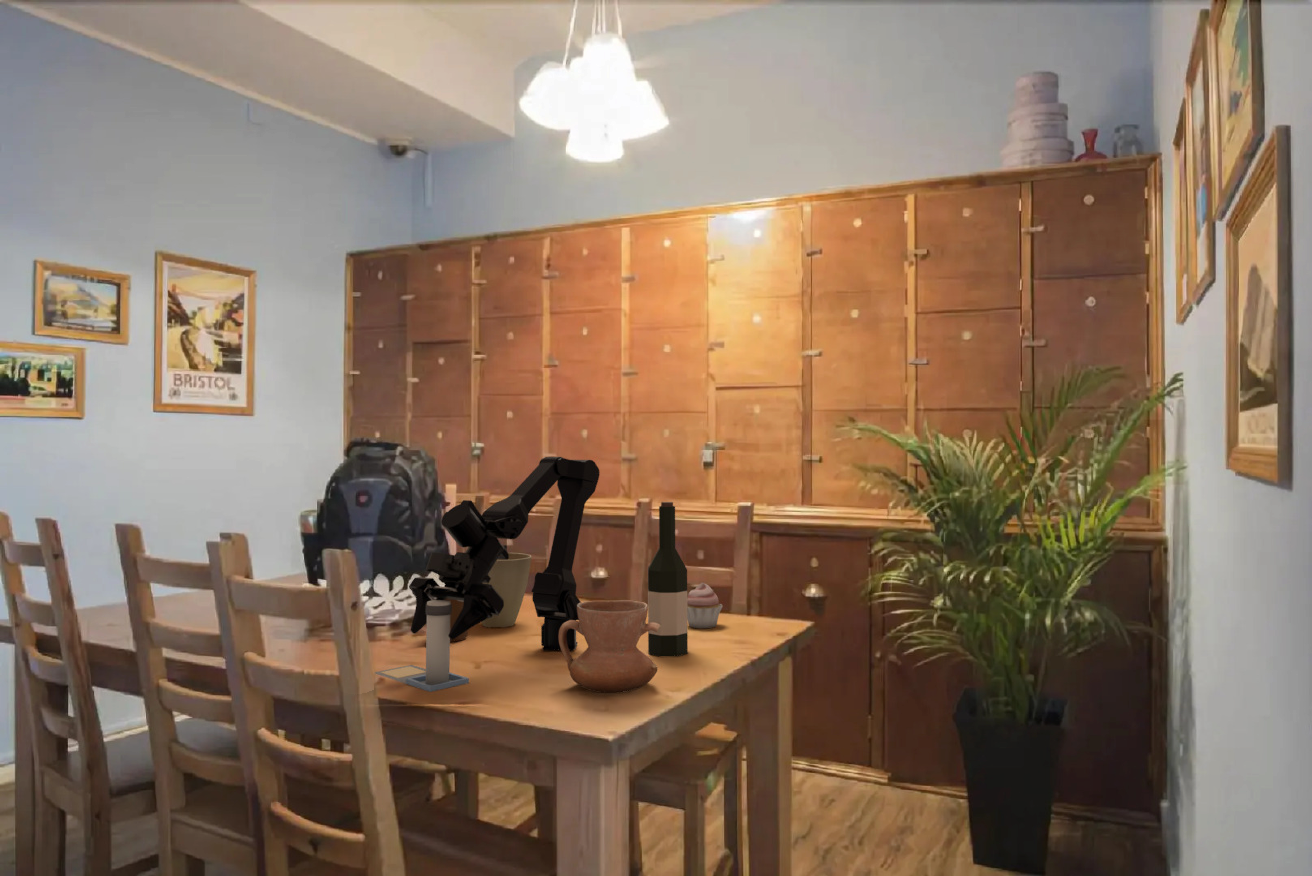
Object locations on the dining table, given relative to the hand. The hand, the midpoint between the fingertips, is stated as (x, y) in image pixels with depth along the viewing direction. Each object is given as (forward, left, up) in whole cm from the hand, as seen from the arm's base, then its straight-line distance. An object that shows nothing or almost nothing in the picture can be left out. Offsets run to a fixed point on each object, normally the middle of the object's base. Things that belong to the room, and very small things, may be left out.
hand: (431, 635), depth 155 cm
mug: (+7, -37, -9) cm, 38 cm away
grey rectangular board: (+3, -5, -9) cm, 11 cm away
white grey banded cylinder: (-1, -1, -8) cm, 9 cm away
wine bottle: (-41, -26, -9) cm, 49 cm away
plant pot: (-2, -54, -9) cm, 55 cm away
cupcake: (-49, -52, -9) cm, 72 cm away
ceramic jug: (-31, 0, -9) cm, 32 cm away
